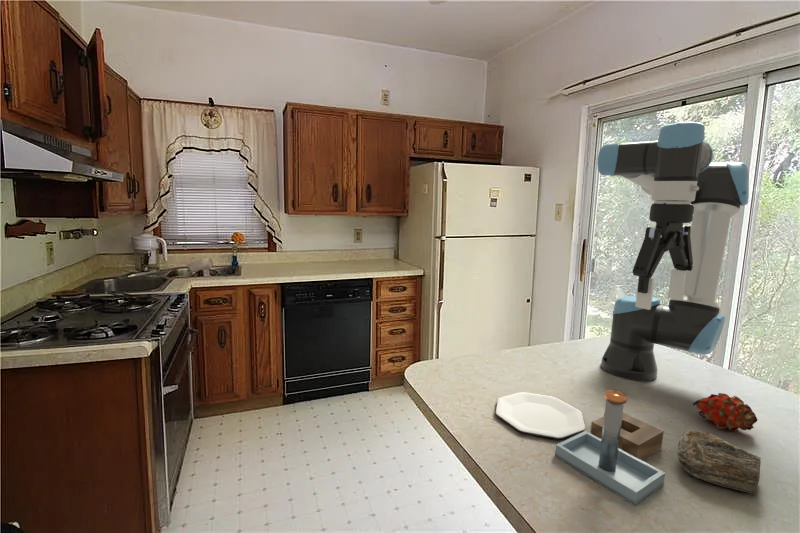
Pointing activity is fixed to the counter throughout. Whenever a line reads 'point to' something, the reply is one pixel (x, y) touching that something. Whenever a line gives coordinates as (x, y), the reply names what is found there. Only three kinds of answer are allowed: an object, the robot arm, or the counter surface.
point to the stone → (719, 461)
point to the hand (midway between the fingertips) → (659, 303)
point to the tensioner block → (634, 436)
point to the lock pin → (611, 429)
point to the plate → (540, 415)
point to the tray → (627, 479)
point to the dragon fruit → (726, 412)
